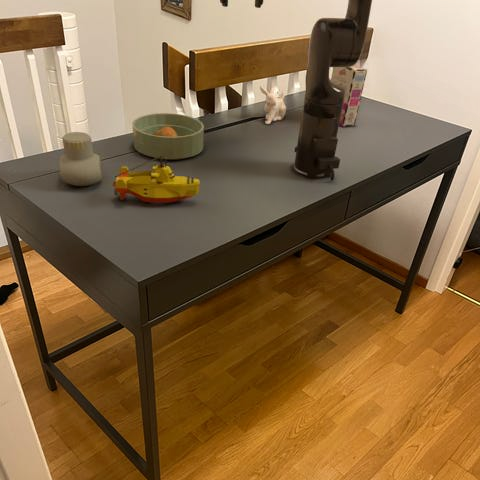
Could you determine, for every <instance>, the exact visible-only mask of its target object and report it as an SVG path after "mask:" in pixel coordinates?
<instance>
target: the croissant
mask: <svg viewBox="0 0 480 480" xmlns="http://www.w3.org/2000/svg"><path fill="white" fill-rule="evenodd" d="M154 135H156V136H165V137H178V136H177V133H176V132H175V131H174V129H172V128H171V127H163V128H162V129H161V130H159V131H157V132H155V133H154Z"/></svg>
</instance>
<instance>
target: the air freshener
mask: <svg viewBox="0 0 480 480" xmlns="http://www.w3.org/2000/svg"><path fill="white" fill-rule="evenodd" d="M61 140H62V147H63V153H64V154H62V155H61V156H60V158H59V174H60V179H61V181H62V182H64V183H66V184H67V185H72V186H77V187H87V186H92V185H95V184H96V183H98V182H100V181H101V180H102V178H103V177H102V176H103V173H102V160H101V156H100V155H99V154H97V153H95V152H94V150H93V149H94V148H93V143H92V142H93V141H92V136H91V135H90V134H88V133H86V132H81V131H71V132H67V133H64V135H63V136H62V137H61Z"/></svg>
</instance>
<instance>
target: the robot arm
mask: <svg viewBox="0 0 480 480" xmlns="http://www.w3.org/2000/svg"><path fill="white" fill-rule="evenodd" d="M219 2H220V4H221V6H222V7H224V8H228V6H229V0H219ZM263 4H264V0H254V7H255V8H257V9H261V7H262V6H263ZM372 4H373V0H348V1H347V8H346V14H345V17H343V18H342V17H322V18H319V19H317V21H316V22H315V23H314V25H313V27H312V29H311V33H310V38H309V42H308V43H309V45H308V53H307V61H306V62H307V63H306V73H305V92H304V98H303V106H302V112H301V118H300V125H299V131H298V136H297V143H296V146H295V147H294V153H295V157H294V163H293V167H292V168H293V171H295V172H296V173H298V174H299V175H301V176H305V177H307V178H309V179H316V178H325V177H330V181H331V182H333V181H334V179H335V170H337V169H339V167H340V163H341V158H339V157H338V156H336V153H337V148H338V147H337V146H338V142H339V139H338V133H339V127H340V125H339V123H340V118H341V114H342V109H343V104H344V99H345V94H346V90H345V88H344V87H343V86H342V85H340V84H338V83H336V82H334V81H332V80H331V77H330V69H331V68H334V67H351V66H353V65H356V64H357V63H358V62H359V60H360V58H361V55H362V54H363V51H364V47H365V42H366V38H367V33H368V29H369V28H368V27H369V20H370V16H371V9H372Z"/></svg>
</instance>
